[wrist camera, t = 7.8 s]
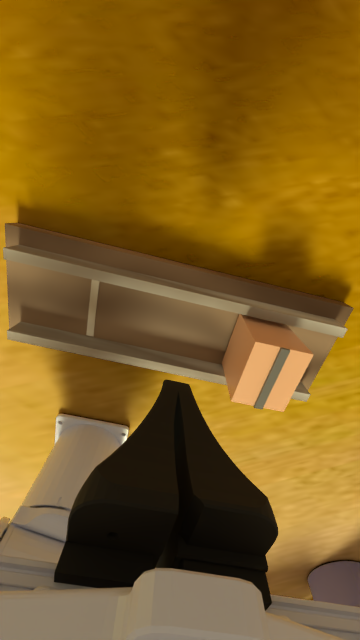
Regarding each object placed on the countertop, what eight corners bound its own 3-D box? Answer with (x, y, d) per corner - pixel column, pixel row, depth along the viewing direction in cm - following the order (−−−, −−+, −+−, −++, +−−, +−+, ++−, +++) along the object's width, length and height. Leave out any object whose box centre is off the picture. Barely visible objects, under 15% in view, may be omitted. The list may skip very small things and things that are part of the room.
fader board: (295, 390, 26) (310, 414, 23) (19, 332, 24) (-5, 350, 21) (342, 302, 22) (368, 316, 19) (17, 222, 20) (-13, 224, 17)
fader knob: (263, 371, 23) (284, 413, 18) (221, 362, 22) (231, 403, 18) (285, 323, 21) (315, 356, 16) (239, 312, 20) (256, 343, 16)
